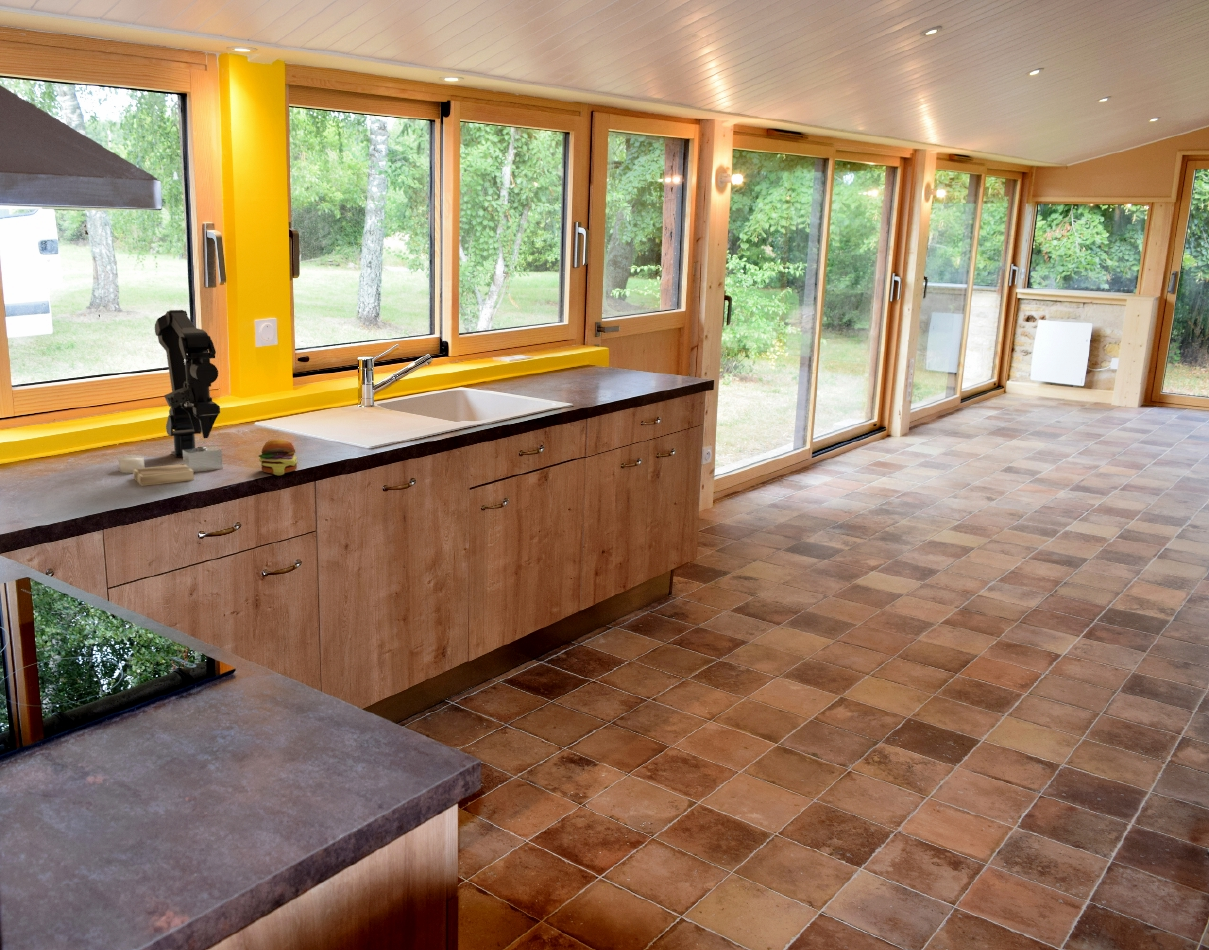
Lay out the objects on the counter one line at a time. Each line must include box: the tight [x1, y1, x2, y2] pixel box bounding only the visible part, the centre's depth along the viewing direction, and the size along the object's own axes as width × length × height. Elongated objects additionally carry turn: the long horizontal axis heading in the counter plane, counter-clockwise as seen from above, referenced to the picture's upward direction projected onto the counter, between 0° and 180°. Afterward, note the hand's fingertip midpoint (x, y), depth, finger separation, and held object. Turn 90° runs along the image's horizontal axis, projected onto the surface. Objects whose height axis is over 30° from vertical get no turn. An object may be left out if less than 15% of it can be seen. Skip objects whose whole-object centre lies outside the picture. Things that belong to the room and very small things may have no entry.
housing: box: [182, 445, 224, 473], centre depth 295 cm, size 5×9×6 cm, turn 128°
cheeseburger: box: [258, 438, 298, 476], centre depth 295 cm, size 10×11×10 cm
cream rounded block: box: [117, 455, 146, 474], centre depth 291 cm, size 6×6×4 cm
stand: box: [132, 463, 195, 487], centre depth 283 cm, size 9×13×3 cm
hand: (201, 434), depth 293 cm, fingers open, 9 cm apart
